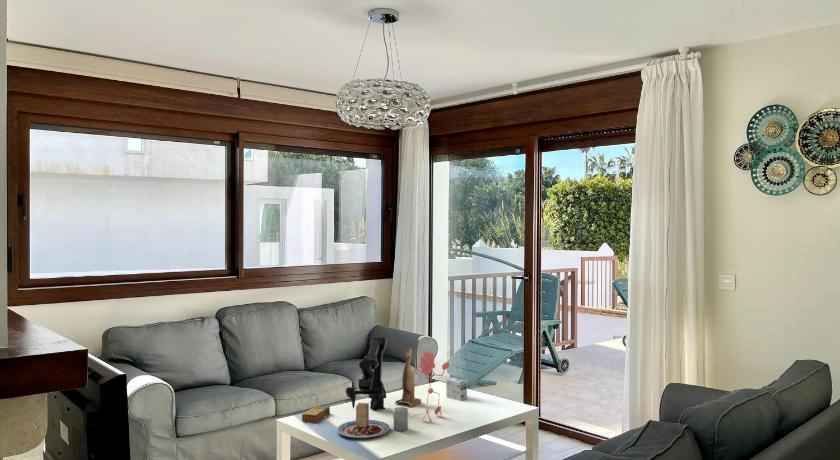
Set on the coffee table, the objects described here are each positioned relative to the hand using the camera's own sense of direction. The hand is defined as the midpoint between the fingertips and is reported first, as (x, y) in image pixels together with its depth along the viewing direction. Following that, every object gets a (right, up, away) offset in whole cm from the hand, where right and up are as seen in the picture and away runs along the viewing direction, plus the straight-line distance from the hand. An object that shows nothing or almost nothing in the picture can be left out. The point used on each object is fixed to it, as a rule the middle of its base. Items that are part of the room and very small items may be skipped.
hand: (362, 408), depth 312 cm
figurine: (+32, -11, +19) cm, 39 cm away
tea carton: (0, -8, 0) cm, 8 cm away
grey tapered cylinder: (+19, -11, +1) cm, 22 cm away
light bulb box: (+50, -10, +55) cm, 75 cm away
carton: (-26, -11, +21) cm, 35 cm away
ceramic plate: (+1, -12, -2) cm, 12 cm away
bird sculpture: (+22, -10, +44) cm, 51 cm away
